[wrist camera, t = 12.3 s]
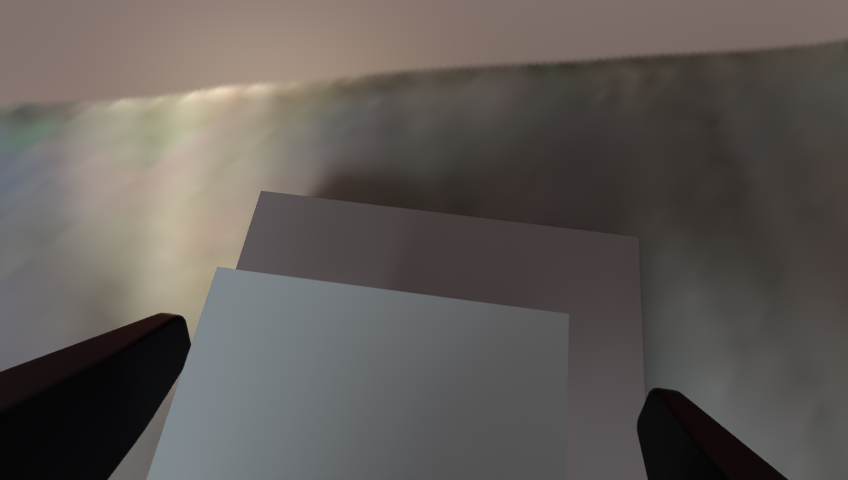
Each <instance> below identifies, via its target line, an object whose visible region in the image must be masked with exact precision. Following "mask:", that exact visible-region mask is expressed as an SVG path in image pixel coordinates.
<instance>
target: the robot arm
mask: <svg viewBox="0 0 848 480" xmlns="http://www.w3.org/2000/svg"><path fill="white" fill-rule="evenodd" d="M190 347H191V342H190V338H189V333H188V328H187V324H186V320H185V319H184V318H183V316H181V315H176V314H170V313H159V314H156V315H153V316H150V317H148V318H145V319H142V320H139V321H137V322H134V323H131V324H129V325H126V326H123V327H121V328H118V329H115V330H112V331H110V332H107V333H104V334H102V335H99V336H96V337H93V338H91V339H88V340H85V341H83V342H80V343H77V344H74V345H72V346H69V347H66V348H64V349H61V350H58V351H55V352H53V353H50V354H47V355H45V356H42V357H39V358H36V359H34V360H31V361H28V362H26V363H23V364H20V365H18V366H15V367H12V368H9V369H7V370H4V371H1V372H0V480H108V478H109V477H110V476H111V474H112V473H113V472H114V470H115V469H116V468H117V466H118V465H119V464H120V462H121V461H122V460H123V458H124V457H125V456H126V455H127V453H128V452H129V451H130V449H131V448H132V447H133V445H134V444H135V443H136V441H137V440H138V438H139V437H140V436H141V434H142V433H143V431H144V430H145V429H146V427H147V425H148V424H149V422H150V421H151V419H152V418H153V416H154V415H155V413H156V412H157V410H158V408H159V407H160V405H161V404H162V402H163V400H164V399H165V397H166V396H167V394H168V392H169V391H170V389H171V387H172V386H173V384H174V383H175V381H176V379H177V378H178V376H179V375H180V373H181V371H182V370H183V368H184V365H185V362H186V359H187V356H188V353H189V350H190ZM637 434H638V439H639V443H640V448H641V452H642V457H643V461H644V466H645V470H646V475H647V479H648V480H788V479H787V478H785V477H784V476H783V475H782V474H781V473H779V472H778V471H777V470H776V469H774V468H773V467H772V466H771V465H769V464H768V463H767V462H766V461H764V460H763V459H762V458H761V457H760V456H758V455H757V454H756V453H755V452H753V451H752V450H751V449H750V448H748V447H747V446H746V445H745V444H743V443H742V442H741V441H740V440H739V439H737V438H736V437H735V436H734V435H732V434H731V433H730V432H729V431H727V430H726V429H725V428H724V427H722V426H721V425H720V424H719V423H718V422H716V421H715V420H714V419H713V418H711V417H710V416H709V415H708V414H706V413H705V412H704V411H703V410H701V409H700V408H699V407H698V406H697V405H695V404H694V403H693V402H692V401H690V400H689V399H688V398H687V397H685V396H684V395H683V394H682V393H680V392H678V391H675V390H670V389H663V388H653V389H652V390H651V391H650V392H649V394H648V396H647V399H646V401H645V403H644V405H643V408H642V410H641V412H640V415H639V417H638V420H637Z"/></svg>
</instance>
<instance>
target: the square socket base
mask: <svg viewBox="0 0 848 480" xmlns="http://www.w3.org/2000/svg"><path fill="white" fill-rule="evenodd" d="M236 270H243V271H251V272H258V273H266V274H273V275H281V276H288V277H296V278H303V279H311V280H318V281H326V282H333V283H341V284H348V285H356V286H363V287H371V288H378V289H386V290H393V291H401V292H408V293H416V294H423V295H431V296H438V297H446V298H453V299H461V300H468V301H476V302H483V303H491V304H498V305H506V306H513V307H521V308H528V309H536V310H543V311H551V312H558V313H566V314H569V338H568V394H567V450H566V480H648V479H647V475H646V470H645V466H644V461H643V457H642V452H641V448H640V443H639V439H638V434H637V420H638V417H639V415H640V412H641V410H642V408H643V405H644V403H645V382H644V355H643V329H642V303H641V276H640V250H639V237H636V236H628V235H619V234H611V233H603V232H595V231H587V230H578V229H570V228H562V227H554V226H546V225H537V224H529V223H521V222H513V221H504V220H496V219H488V218H480V217H472V216H463V215H455V214H447V213H439V212H431V211H422V210H414V209H406V208H398V207H390V206H381V205H373V204H365V203H357V202H349V201H340V200H332V199H324V198H316V197H307V196H299V195H291V194H283V193H275V192H266V191H261V193H260V196H259V199H258V202H257V205H256V208H255V211H254V215H253V218H252V221H251V224H250V227H249V230H248V233H247V236H246V239H245V242H244V246H243V249H242V252H241V255H240V258H239V261H238V264H237V267H236Z"/></svg>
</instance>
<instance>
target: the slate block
mask: <svg viewBox="0 0 848 480" xmlns="http://www.w3.org/2000/svg"><path fill="white" fill-rule="evenodd" d="M568 338H569V314H566V313H558V312H551V311H543V310H536V309H528V308H521V307H513V306H506V305H498V304H491V303H483V302H476V301H468V300H461V299H453V298H446V297H438V296H431V295H423V294H416V293H408V292H401V291H393V290H386V289H378V288H371V287H363V286H356V285H348V284H341V283H333V282H326V281H318V280H311V279H303V278H296V277H288V276H281V275H273V274H266V273H258V272H251V271H243V270H236V269H228V268H221V267H217V269H216V272H215V275H214V278H213V281H212V284H211V287H210V290H209V293H208V296H207V299H206V302H205V305H204V308H203V311H202V314H201V317H200V320H199V323H198V326H197V329H196V332H195V335H194V338H193V341H192V344H191V347H190V350H189V353H188V356H187V359H186V362H185V365H184V368H183V371H182V374H181V377H180V380H179V383H178V386H177V389H176V392H175V395H174V398H173V401H172V404H171V407H170V410H169V413H168V416H167V419H166V422H165V425H164V428H163V431H162V434H161V437H160V440H159V443H158V446H157V449H156V452H155V455H154V458H153V461H152V464H151V467H150V470H149V473H148V476H147V479H146V480H566V450H567V394H568Z"/></svg>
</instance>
